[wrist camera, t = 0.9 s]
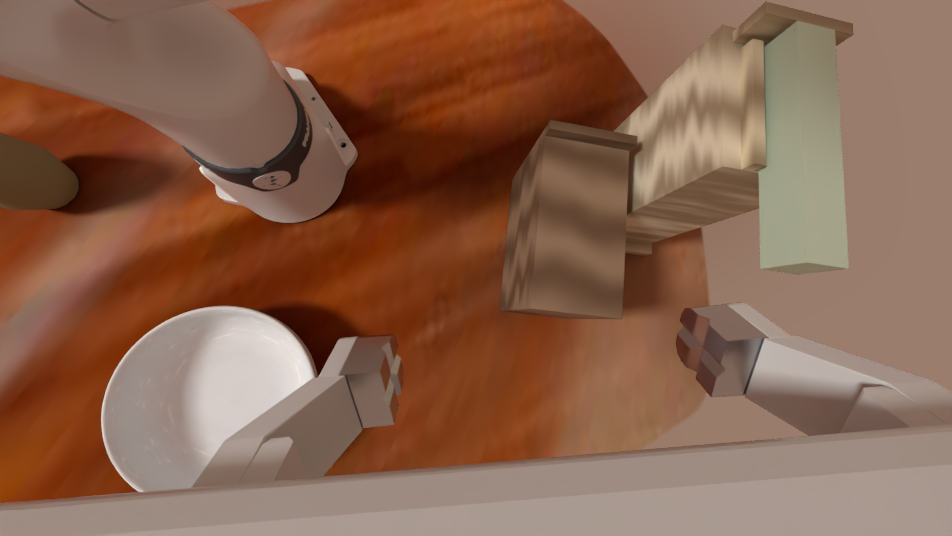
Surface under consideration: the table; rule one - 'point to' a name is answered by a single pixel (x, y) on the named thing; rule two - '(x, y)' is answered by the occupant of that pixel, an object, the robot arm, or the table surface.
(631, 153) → the stand
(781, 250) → the sage green square rod
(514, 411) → the table surface
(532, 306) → the block
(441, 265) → the table surface
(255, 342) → the serving bowl
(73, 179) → the squeeze bottle
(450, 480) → the robot arm
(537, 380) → the table surface
